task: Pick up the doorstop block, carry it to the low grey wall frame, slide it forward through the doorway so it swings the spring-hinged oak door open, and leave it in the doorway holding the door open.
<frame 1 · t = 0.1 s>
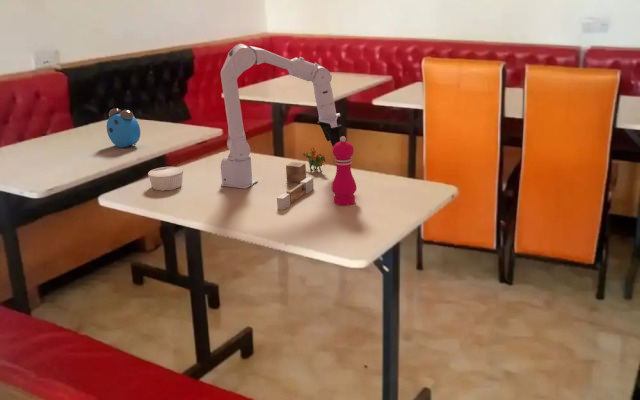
hand: (333, 143, 222), 11 cm above the table, tool pointing down, fingers open, 7 cm apart
alarm clock: (125, 146, 268), on the table
ramekin: (167, 187, 219), on the table
pepper mill: (344, 202, 199), on the table
door: (288, 203, 200), on the table, hinge at 0.0°
figurine: (313, 170, 230), on the table
wall frame: (297, 197, 205), on the table
doorstop block: (296, 182, 219), on the table
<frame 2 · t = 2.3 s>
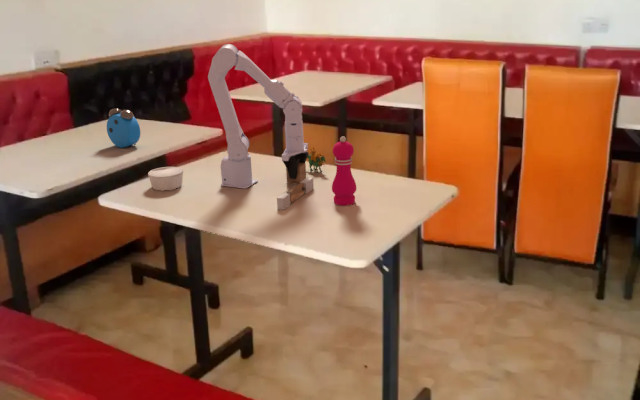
hand: (296, 176, 218), 2 cm above the table, tool pointing down, fingers closed on doorstop block, 4 cm apart
doorstop block: (296, 181, 219), on the table, touching gripper
everything else where it was.
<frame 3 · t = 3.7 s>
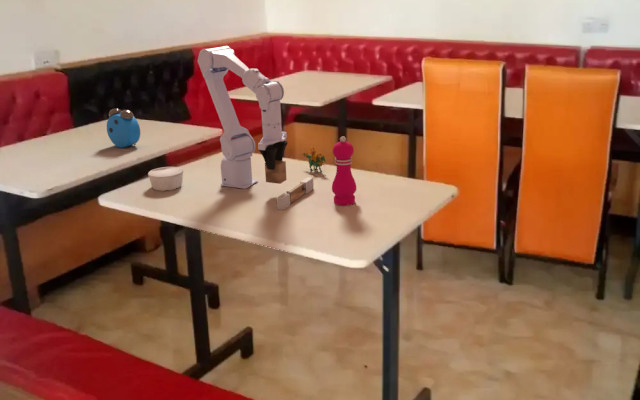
hand: (274, 166, 205), 9 cm above the table, tool pointing down, fingers closed on doorstop block, 4 cm apart
doorstop block: (276, 180, 206), point 4 cm above the table, touching gripper
everything else where it was.
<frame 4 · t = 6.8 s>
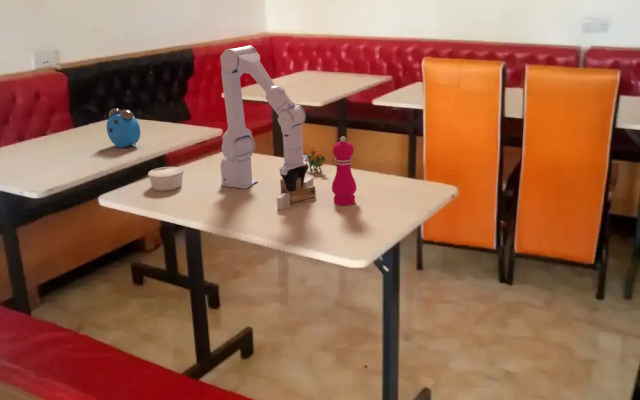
hand: (295, 190, 204), 2 cm above the table, tool pointing down, fingers closed on doorstop block, 4 cm apart
door: (288, 203, 200), on the table, hinge at 28.2°, touching gripper
doorstop block: (291, 197, 205), on the table, touching gripper
everything else where it was.
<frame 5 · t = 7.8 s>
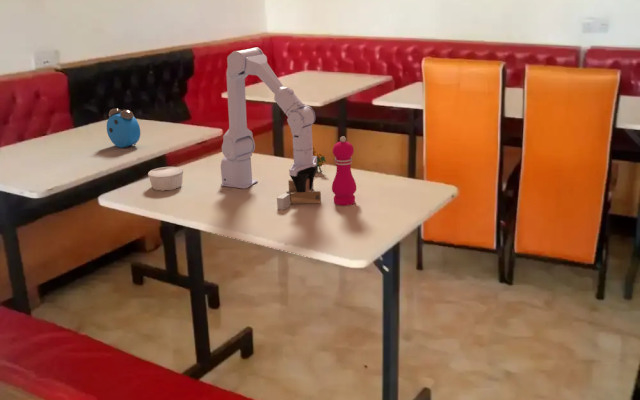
hand: (304, 191, 202), 2 cm above the table, tool pointing down, fingers closed on doorstop block, 4 cm apart
door: (288, 203, 200), on the table, hinge at 63.3°, touching gripper
doorstop block: (299, 198, 204), on the table, touching gripper
everything else where it was.
when the fingers open (2 cm above the table, at t = 9.3 s): doorstop block stays where it is, on the table.
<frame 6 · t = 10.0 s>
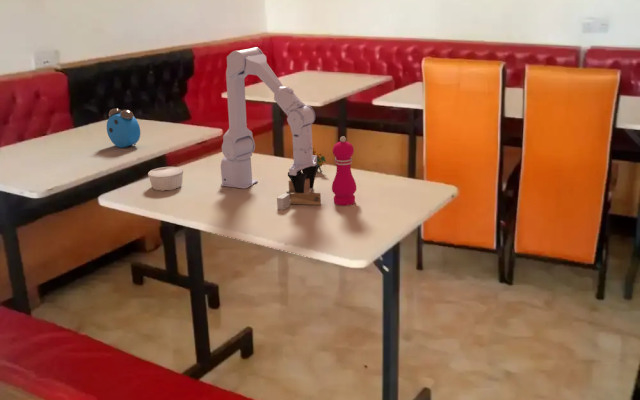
hand: (304, 191, 202), 2 cm above the table, tool pointing down, fingers open, 6 cm apart
door: (288, 203, 200), on the table, hinge at 73.6°, touching gripper
doorstop block: (299, 198, 204), on the table
everything else where it was.
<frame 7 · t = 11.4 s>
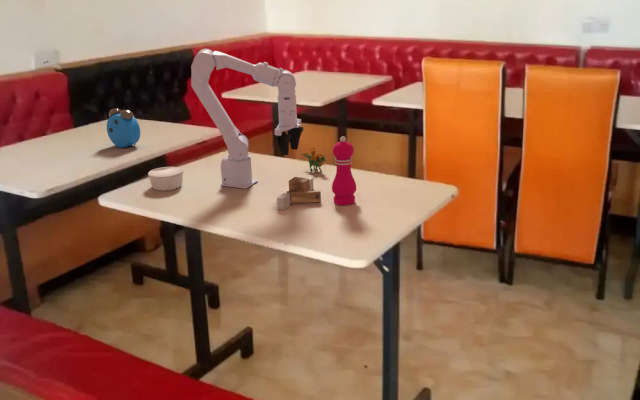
hand: (289, 152, 216), 10 cm above the table, tool pointing down, fingers open, 6 cm apart
door: (288, 203, 200), on the table, hinge at 59.6°
everything else where it was.
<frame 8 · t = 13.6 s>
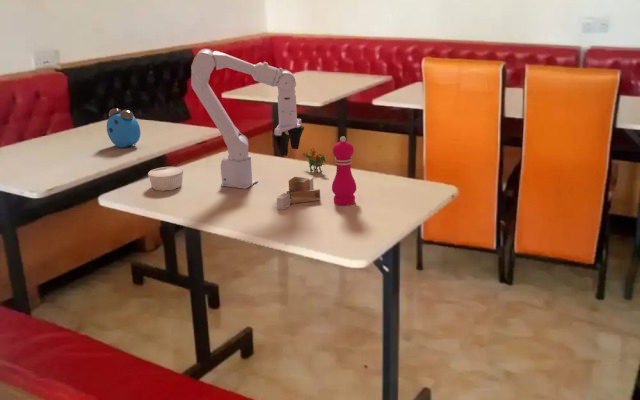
hand: (289, 151, 216), 10 cm above the table, tool pointing down, fingers open, 7 cm apart
door: (288, 203, 200), on the table, hinge at 50.1°
everything else where it was.
at the end: door at +50° (first picture: +0°); doorstop block inside the target area (1.8 cm from its centre), on the table; doorstop block tilted 0° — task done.
